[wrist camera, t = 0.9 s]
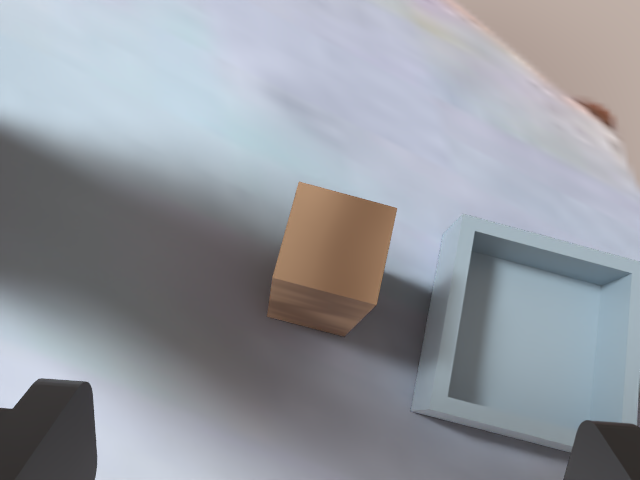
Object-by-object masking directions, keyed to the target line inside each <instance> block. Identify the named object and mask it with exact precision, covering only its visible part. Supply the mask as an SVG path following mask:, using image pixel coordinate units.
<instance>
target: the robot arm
mask: <svg viewBox="0 0 640 480" xmlns="http://www.w3.org/2000/svg"><path fill="white" fill-rule="evenodd" d="M96 469H97V448H96V434H95V420H94V405H93V393H92V388H91V385H90V384H89V383H88V382H83V381H70V380H56V379H43V378H41V379H38V380H37V381H35V382H34V383H33V385H32V386H31V387H30V388H29V389H28V391H27V392H26V393H25V394H24V396H23V397H22V398H21V399H20V400H19V402H18V403H17V404H16V405H15V407H14V408H13V409H7V408H0V480H95V476H96ZM564 480H640V428H639V427H638V426H636V425H635V424H632V423H619V422H606V421H592V420H585V421H583V422H582V423H581V424H580V425H579V427H578V430H577V433H576V436H575V440H574V444H573V447H572V451H571V454H570V458H569V462H568V465H567V469H566V472H565V476H564Z"/></svg>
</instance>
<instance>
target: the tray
mask: <svg viewBox="0 0 640 480" xmlns="http://www.w3.org/2000/svg"><path fill="white" fill-rule="evenodd" d="M639 382H640V261H636V260H632V259H629V258H625V257H621V256H617V255H614V254H610V253H606V252H603V251H599V250H595V249H592V248H588V247H584V246H580V245H577V244H573V243H569V242H566V241H562V240H558V239H555V238H551V237H547V236H544V235H540V234H536V233H532V232H529V231H525V230H521V229H518V228H514V227H510V226H507V225H503V224H499V223H495V222H492V221H488V220H484V219H481V218H477V217H473V216H470V215H466V214H462V215H461V216H460V217H459V218H458V219H457V220H456V221H455V222H454V223H453V224H452V225H451V226H450V227H449V229H448V230H447V231H446V232H445V233H444V234H443V236H442V241H441V247H440V252H439V258H438V263H437V269H436V274H435V280H434V285H433V290H432V296H431V301H430V307H429V312H428V318H427V323H426V329H425V334H424V340H423V345H422V350H421V356H420V361H419V367H418V372H417V378H416V383H415V389H414V394H413V400H412V405H411V411H412V412H415V413H419V414H423V415H427V416H431V417H435V418H439V419H442V420H446V421H450V422H454V423H458V424H462V425H466V426H469V427H473V428H477V429H481V430H485V431H489V432H493V433H497V434H500V435H504V436H508V437H512V438H516V439H520V440H524V441H527V442H531V443H535V444H539V445H543V446H547V447H551V448H554V449H558V450H562V451H566V452H570V453H571V451H572V447H573V444H574V440H575V436H576V433H577V430H578V427H579V425H580V424H581V423H582V422H583V421H585V420H592V421H606V422H619V423H632V424H635V425H636V426H637V415H638V399H639Z"/></svg>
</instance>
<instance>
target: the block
mask: <svg viewBox="0 0 640 480" xmlns="http://www.w3.org/2000/svg"><path fill="white" fill-rule="evenodd" d="M396 212H397V208H395V207H391V206H388V205H384V204H380V203H376V202H373V201H369V200H365V199H362V198H358V197H354V196H350V195H347V194H343V193H339V192H336V191H332V190H328V189H324V188H321V187H317V186H313V185H310V184H306V183H302V182H299V183H298V187H297V190H296V194H295V198H294V201H293V205H292V208H291V212H290V216H289V219H288V223H287V226H286V230H285V234H284V237H283V241H282V244H281V248H280V252H279V255H278V259H277V262H276V266H275V270H274V273H273V277H272V283H271V290H270V297H269V304H268V312H267V317H271V318H275V319H278V320H282V321H286V322H290V323H294V324H297V325H301V326H305V327H309V328H313V329H317V330H320V331H324V332H328V333H332V334H336V335H339V336H343V337H345V336H346V335H347V334H348V333H349V332H350V331H351V330H352V329H353V328H354V327H355V326H356V325H357V324H358V323H359V322H360V321H361V320H362V319H363V318H364V317H365V316H366V315H367V314H368V313H369V312H370V311H371V310H372V309H373V308H374V307H375V306H376V305H377V301H378V296H379V291H380V287H381V282H382V277H383V273H384V268H385V263H386V259H387V254H388V249H389V245H390V240H391V235H392V230H393V226H394V221H395V216H396Z"/></svg>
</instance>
